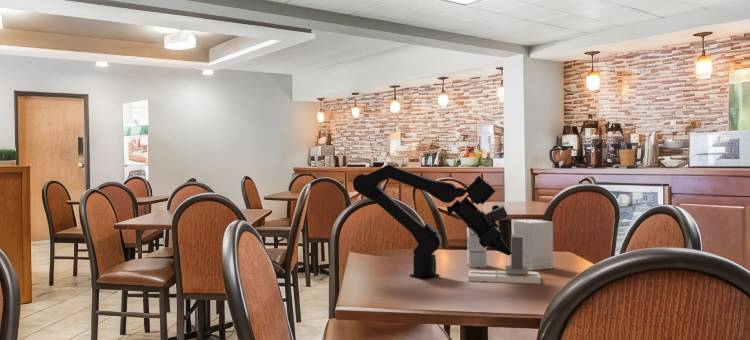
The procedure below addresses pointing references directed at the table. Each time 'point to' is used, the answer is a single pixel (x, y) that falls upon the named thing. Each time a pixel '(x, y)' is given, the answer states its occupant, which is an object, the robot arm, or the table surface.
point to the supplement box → (536, 243)
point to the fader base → (503, 276)
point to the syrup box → (475, 251)
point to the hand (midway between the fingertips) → (510, 254)
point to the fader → (516, 256)
